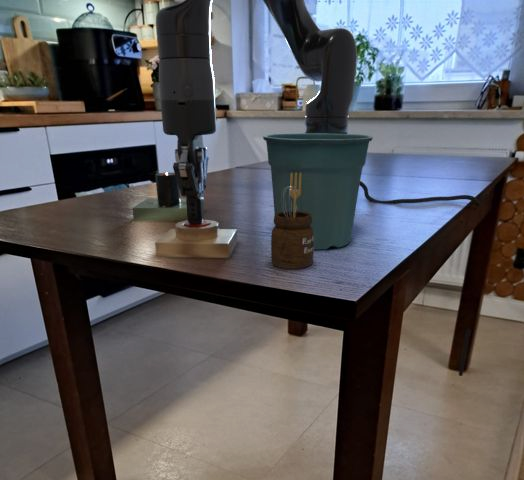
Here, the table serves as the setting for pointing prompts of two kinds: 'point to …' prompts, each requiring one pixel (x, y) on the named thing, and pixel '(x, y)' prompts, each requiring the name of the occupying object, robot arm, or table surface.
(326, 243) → the flower pot
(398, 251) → the table surface
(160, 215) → the panel
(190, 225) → the button
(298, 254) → the utensil holder
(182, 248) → the button block
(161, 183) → the black cylinder
